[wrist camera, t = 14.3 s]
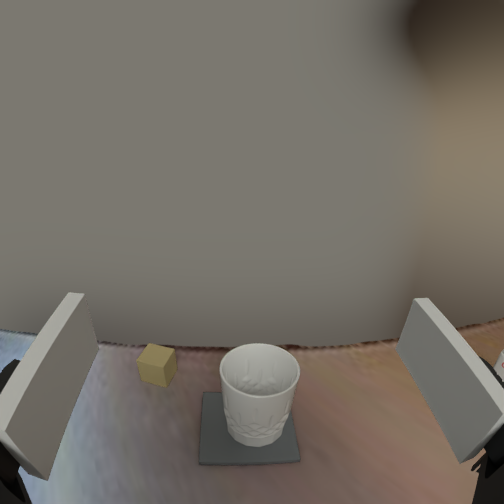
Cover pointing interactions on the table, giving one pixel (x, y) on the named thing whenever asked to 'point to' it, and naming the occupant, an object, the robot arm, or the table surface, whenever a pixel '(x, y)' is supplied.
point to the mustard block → (157, 365)
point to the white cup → (258, 392)
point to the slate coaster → (232, 452)
